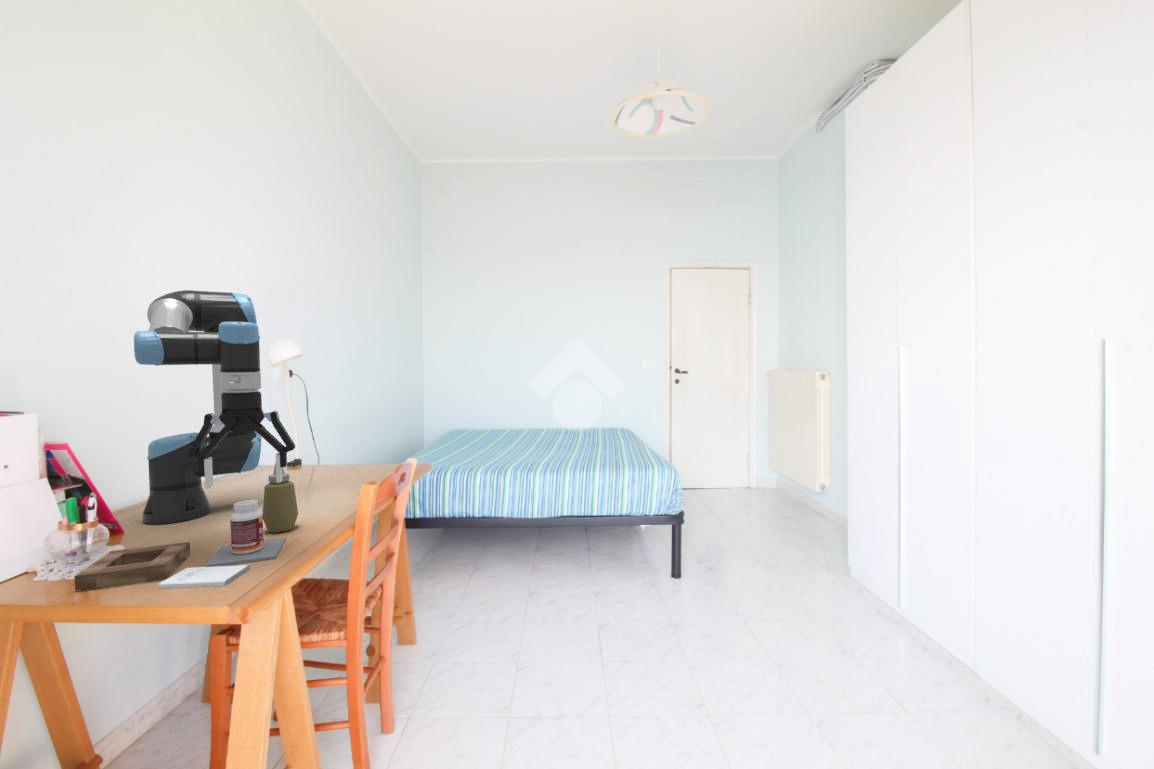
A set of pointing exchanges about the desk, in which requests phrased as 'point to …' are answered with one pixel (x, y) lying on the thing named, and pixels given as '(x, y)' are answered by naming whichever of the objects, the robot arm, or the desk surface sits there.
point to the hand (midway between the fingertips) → (245, 484)
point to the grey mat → (229, 558)
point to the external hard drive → (204, 576)
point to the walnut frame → (133, 566)
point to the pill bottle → (246, 527)
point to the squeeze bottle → (279, 504)
